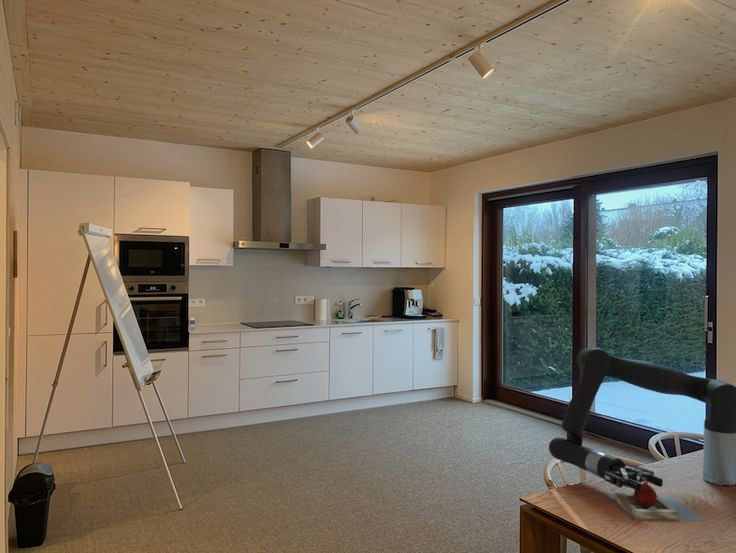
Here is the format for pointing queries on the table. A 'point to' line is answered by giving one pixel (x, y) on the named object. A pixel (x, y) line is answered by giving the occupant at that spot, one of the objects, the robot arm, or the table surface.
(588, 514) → the table surface
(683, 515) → the build board
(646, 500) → the onion
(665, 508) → the square frame
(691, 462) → the table surface
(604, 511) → the table surface
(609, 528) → the table surface
